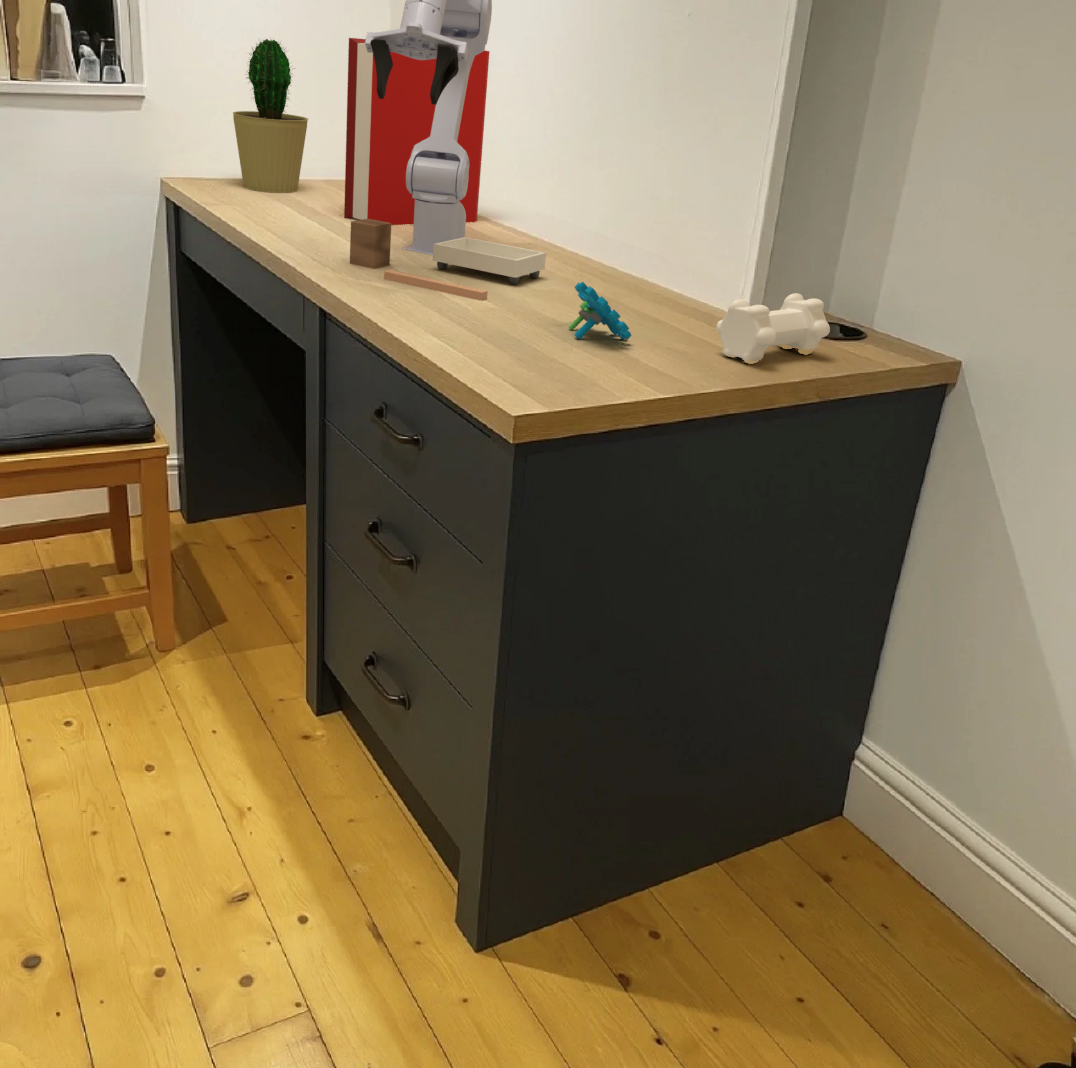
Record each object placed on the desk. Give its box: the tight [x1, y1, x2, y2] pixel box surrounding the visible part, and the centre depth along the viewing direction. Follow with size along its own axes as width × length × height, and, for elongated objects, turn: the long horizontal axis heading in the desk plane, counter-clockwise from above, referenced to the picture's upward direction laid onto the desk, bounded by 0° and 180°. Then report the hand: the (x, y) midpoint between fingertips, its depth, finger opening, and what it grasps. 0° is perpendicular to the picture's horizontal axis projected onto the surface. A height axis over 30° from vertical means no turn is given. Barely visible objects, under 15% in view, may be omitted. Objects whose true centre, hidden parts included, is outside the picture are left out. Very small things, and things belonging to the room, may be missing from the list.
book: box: [343, 37, 490, 226], centre depth 213 cm, size 27×8×32 cm, turn 131°
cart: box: [432, 236, 547, 286], centre depth 177 cm, size 10×15×4 cm, turn 63°
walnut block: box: [349, 219, 392, 270], centre depth 174 cm, size 4×4×7 cm
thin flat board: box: [383, 269, 489, 301], centre depth 173 cm, size 23×17×2 cm
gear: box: [568, 281, 632, 341], centre depth 148 cm, size 11×6×10 cm
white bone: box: [715, 292, 831, 361], centre depth 149 cm, size 15×9×8 cm, turn 130°
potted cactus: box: [232, 37, 309, 194], centre depth 231 cm, size 15×15×30 cm
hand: (406, 97), depth 156 cm, fingers open, 7 cm apart
